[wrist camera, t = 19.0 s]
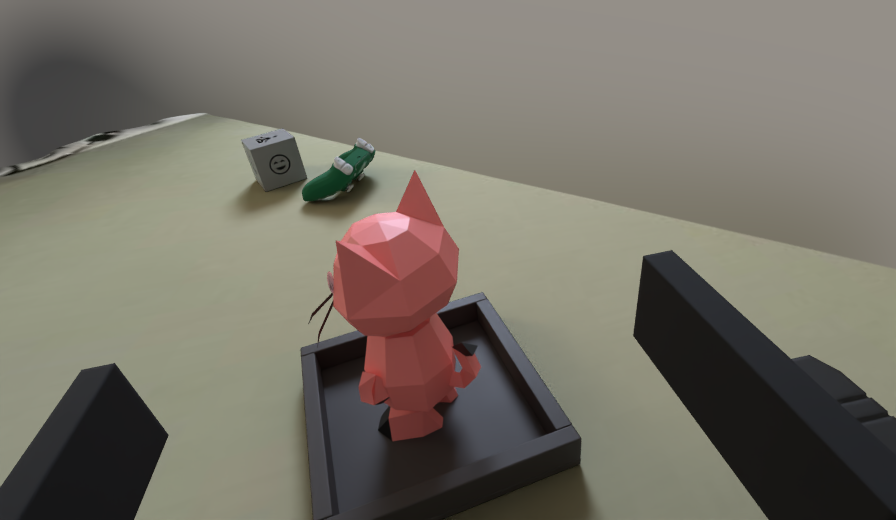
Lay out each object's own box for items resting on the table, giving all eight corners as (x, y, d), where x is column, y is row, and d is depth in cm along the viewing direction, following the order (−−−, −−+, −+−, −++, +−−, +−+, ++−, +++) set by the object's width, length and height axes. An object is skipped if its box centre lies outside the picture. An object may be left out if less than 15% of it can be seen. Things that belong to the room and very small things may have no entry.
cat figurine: (402, 345, 28) (356, 161, 22) (509, 370, 26) (493, 167, 19) (335, 441, 23) (248, 238, 17) (461, 485, 20) (417, 262, 14)
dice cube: (256, 179, 57) (240, 140, 54) (295, 167, 59) (282, 128, 56) (265, 191, 53) (249, 150, 50) (307, 178, 55) (294, 137, 52)
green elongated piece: (325, 219, 49) (352, 183, 45) (295, 196, 48) (320, 158, 45) (360, 182, 56) (386, 149, 53) (335, 162, 56) (359, 126, 52)
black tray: (580, 463, 21) (582, 438, 20) (327, 565, 19) (314, 543, 18) (485, 314, 30) (482, 291, 29) (309, 369, 28) (300, 347, 27)
